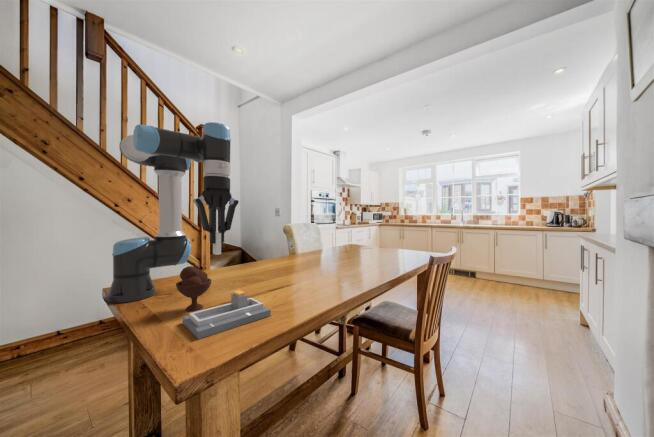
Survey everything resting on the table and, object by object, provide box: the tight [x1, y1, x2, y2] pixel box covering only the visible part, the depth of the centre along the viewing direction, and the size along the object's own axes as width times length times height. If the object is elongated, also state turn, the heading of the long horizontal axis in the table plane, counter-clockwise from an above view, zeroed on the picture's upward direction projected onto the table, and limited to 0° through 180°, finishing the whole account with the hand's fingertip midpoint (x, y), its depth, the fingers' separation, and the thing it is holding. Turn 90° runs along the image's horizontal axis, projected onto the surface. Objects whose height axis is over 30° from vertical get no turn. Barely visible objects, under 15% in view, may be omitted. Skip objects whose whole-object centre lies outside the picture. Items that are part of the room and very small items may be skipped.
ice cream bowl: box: [175, 265, 212, 313], centre depth 89 cm, size 11×11×15 cm
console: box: [182, 297, 272, 340], centre depth 79 cm, size 14×22×4 cm, turn 135°
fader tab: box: [230, 289, 248, 310], centre depth 82 cm, size 5×3×6 cm, turn 45°
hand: (217, 253), depth 77 cm, fingers closed
